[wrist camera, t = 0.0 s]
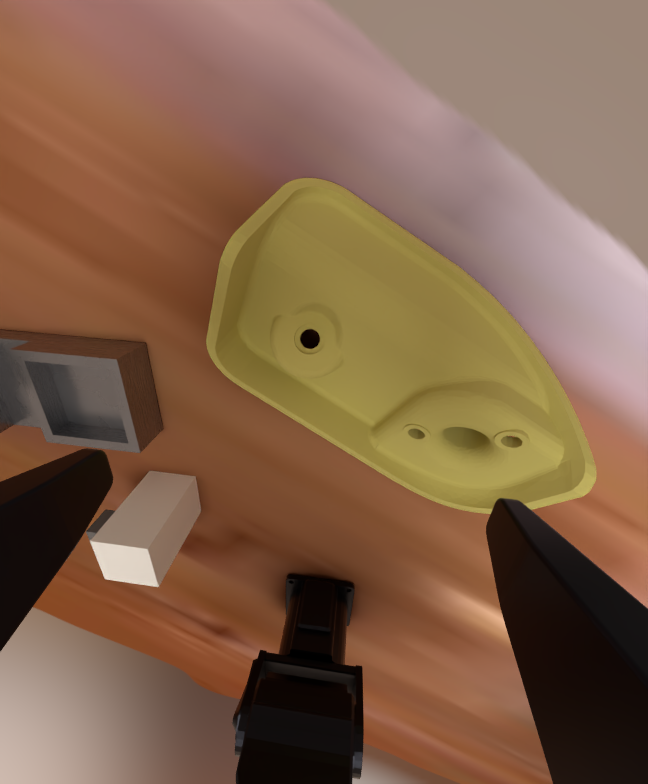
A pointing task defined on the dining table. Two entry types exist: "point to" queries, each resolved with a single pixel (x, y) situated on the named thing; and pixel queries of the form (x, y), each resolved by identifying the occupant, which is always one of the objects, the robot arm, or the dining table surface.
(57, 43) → the dining table surface
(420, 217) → the dining table surface
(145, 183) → the dining table surface
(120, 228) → the dining table surface
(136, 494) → the beige rectangular block
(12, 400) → the grey holder stand
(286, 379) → the plastic component
